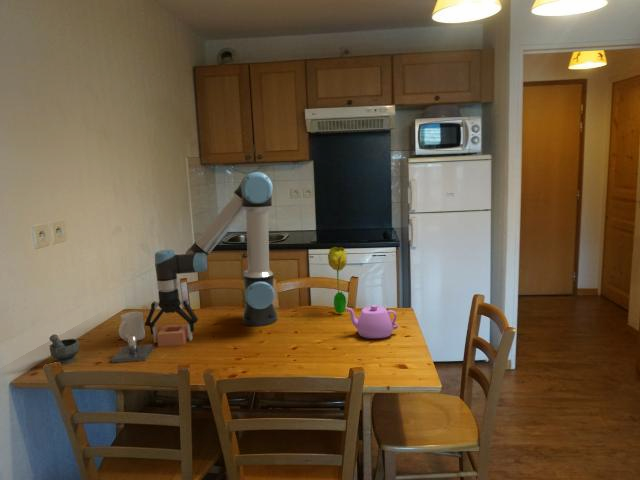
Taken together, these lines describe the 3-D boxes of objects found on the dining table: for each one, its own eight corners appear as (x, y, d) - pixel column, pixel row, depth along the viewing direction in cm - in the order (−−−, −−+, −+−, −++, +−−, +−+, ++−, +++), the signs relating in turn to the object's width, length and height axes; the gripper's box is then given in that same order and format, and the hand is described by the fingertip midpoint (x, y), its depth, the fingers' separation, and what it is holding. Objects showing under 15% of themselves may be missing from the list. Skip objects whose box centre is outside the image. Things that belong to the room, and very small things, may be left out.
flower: (330, 312, 217) (326, 247, 212) (347, 310, 218) (344, 245, 213) (332, 318, 209) (328, 250, 204) (351, 316, 209) (347, 249, 205)
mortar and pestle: (62, 356, 184) (58, 326, 182) (86, 355, 183) (81, 325, 181) (43, 368, 173) (38, 336, 171) (68, 368, 172) (63, 336, 170)
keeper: (154, 347, 187) (152, 329, 185) (145, 360, 175) (142, 340, 174) (123, 350, 186) (121, 331, 185) (111, 363, 174) (109, 343, 173)
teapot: (397, 328, 192) (396, 299, 190) (399, 340, 179) (398, 310, 177) (347, 329, 194) (345, 301, 192) (345, 341, 181) (344, 311, 179)
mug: (129, 346, 190) (126, 321, 188) (112, 345, 193) (109, 320, 191) (149, 335, 201) (146, 311, 199) (133, 334, 204) (130, 310, 202)
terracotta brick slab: (189, 335, 198) (188, 324, 197) (184, 344, 188) (182, 332, 187) (165, 337, 198) (163, 325, 197) (158, 346, 188) (156, 334, 187)
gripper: (202, 285, 193) (206, 335, 197) (138, 288, 193) (144, 339, 196) (198, 289, 186) (203, 342, 190) (132, 294, 185) (138, 346, 189)
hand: (173, 341), depth 193 cm, fingers open, 13 cm apart
